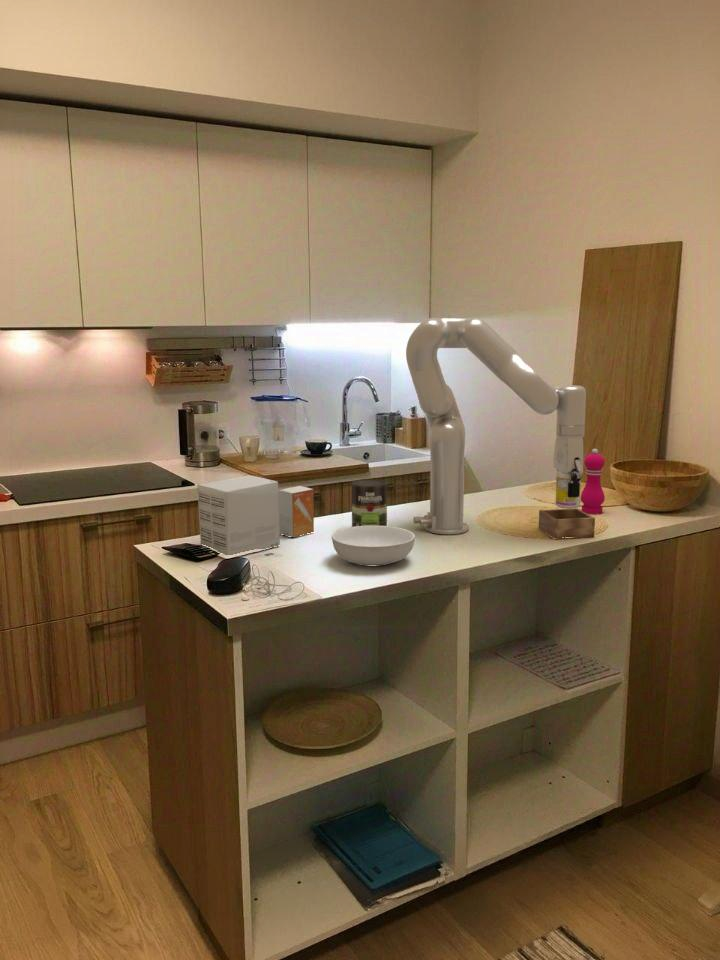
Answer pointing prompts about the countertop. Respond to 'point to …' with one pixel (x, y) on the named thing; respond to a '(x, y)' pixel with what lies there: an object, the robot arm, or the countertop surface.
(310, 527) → the small box
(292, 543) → the countertop surface
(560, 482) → the supplement bottle
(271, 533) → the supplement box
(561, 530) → the crate
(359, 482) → the coffee can
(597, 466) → the pepper mill
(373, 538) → the serving bowl
